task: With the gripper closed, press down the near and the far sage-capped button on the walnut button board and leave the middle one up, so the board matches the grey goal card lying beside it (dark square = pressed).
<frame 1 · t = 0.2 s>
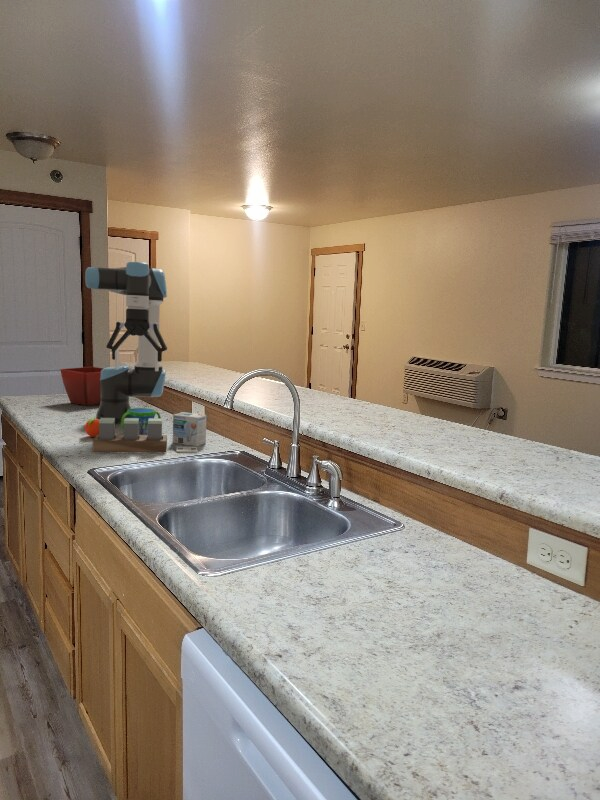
hand: (136, 370, 208), 27 cm above the worktop, tool pointing down, fingers open, 13 cm apart
light bulb box: (189, 443, 222), on the worktop
button board: (131, 449, 208), on the worktop
button near: (107, 429, 205), point 7 cm above the worktop, slide at 0.0 cm
button far: (155, 429, 209), point 7 cm above the worktop, slide at 0.0 cm
button mid: (131, 429, 207), point 7 cm above the worktop, slide at 0.0 cm
plant pot: (88, 403, 296), on the worktop
snack cup: (141, 436, 229), on the worktop
goal card: (186, 450, 210), on the worktop
tomato: (93, 437, 224), on the worktop
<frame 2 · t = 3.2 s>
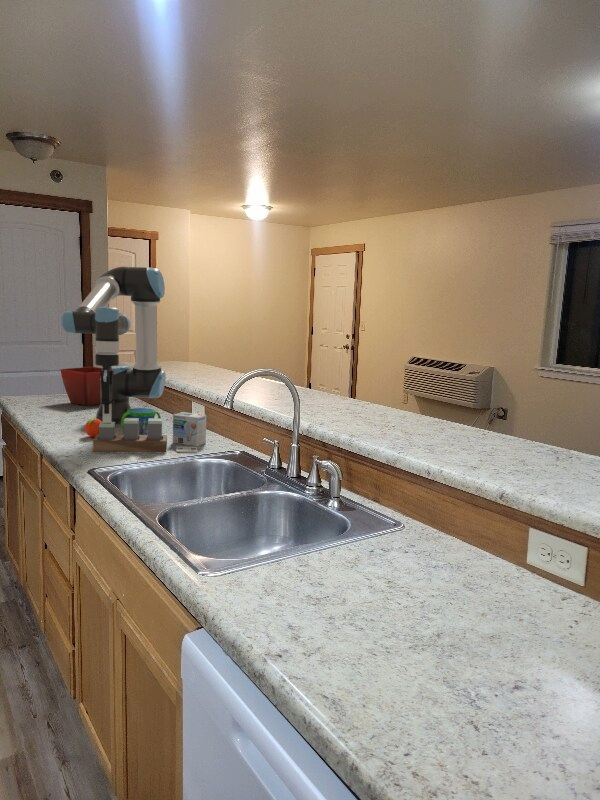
hand: (107, 422, 205), 9 cm above the worktop, tool pointing down, fingers closed
button near: (107, 433, 206), point 6 cm above the worktop, slide at 1.4 cm, touching gripper
everything else where it was.
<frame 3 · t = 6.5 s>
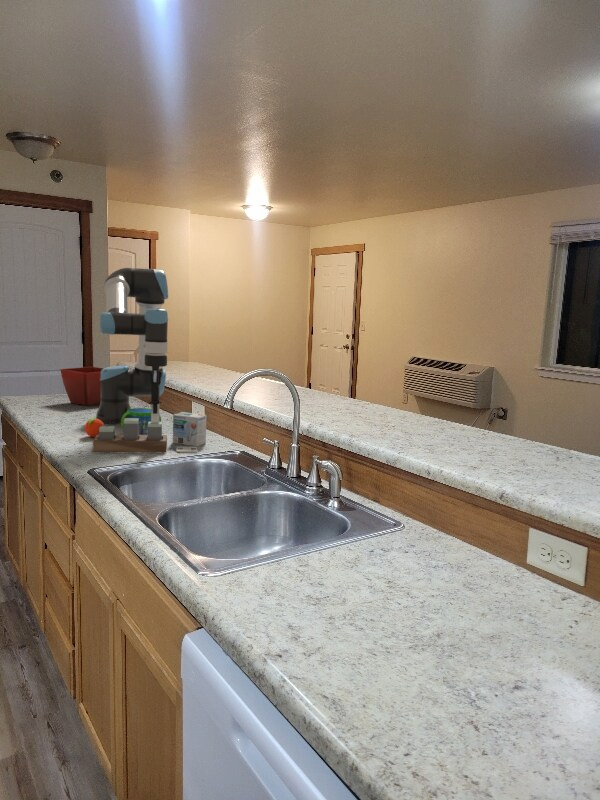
hand: (155, 422, 208), 10 cm above the worktop, tool pointing down, fingers closed
button near: (107, 437, 206), point 4 cm above the worktop, slide at 2.9 cm
button far: (155, 432, 209), point 6 cm above the worktop, slide at 1.1 cm, touching gripper
everything else where it was.
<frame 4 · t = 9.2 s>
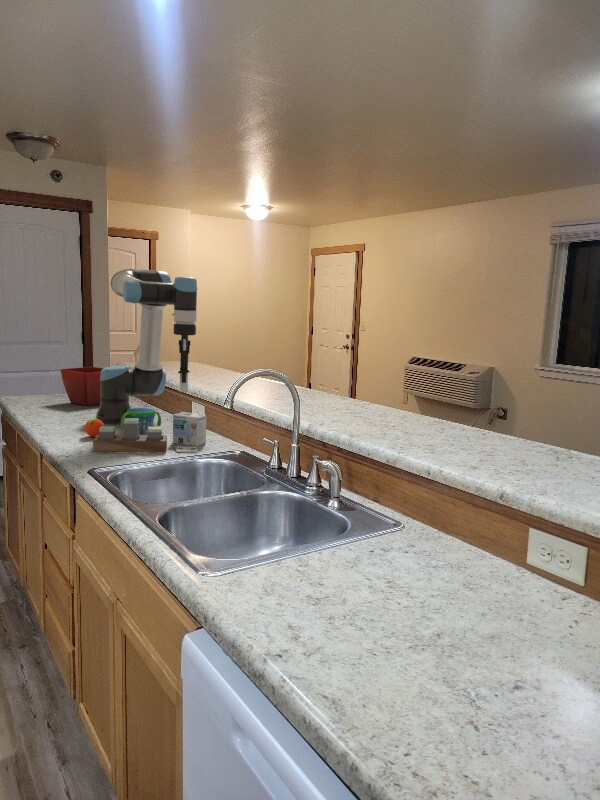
hand: (183, 391, 208), 21 cm above the worktop, tool pointing down, fingers closed
button far: (154, 437, 209), point 4 cm above the worktop, slide at 2.9 cm
everything else where it was.
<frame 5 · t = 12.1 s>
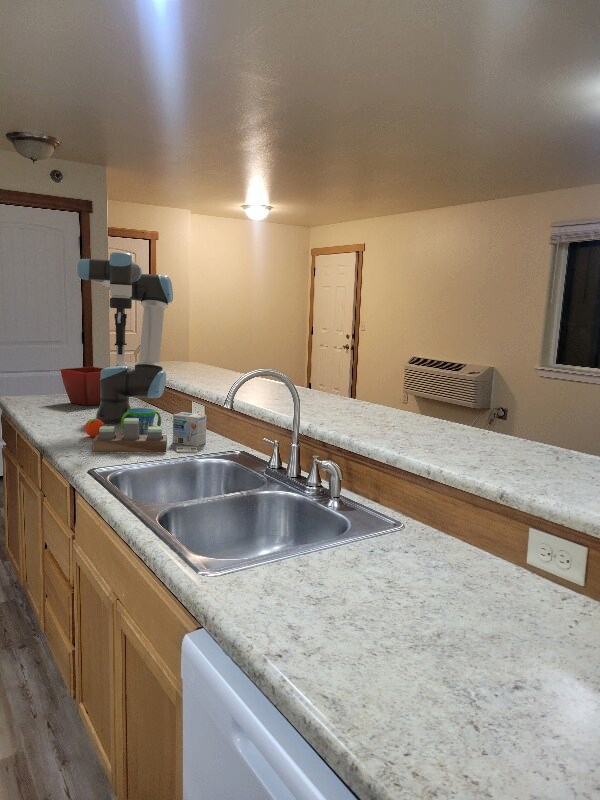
hand: (120, 363, 216), 28 cm above the worktop, tool pointing down, fingers closed
nothing on the worktop moved.
at the end: button near slide at 2.9 cm; button far slide at 2.9 cm; button mid slide at 0.0 cm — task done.
